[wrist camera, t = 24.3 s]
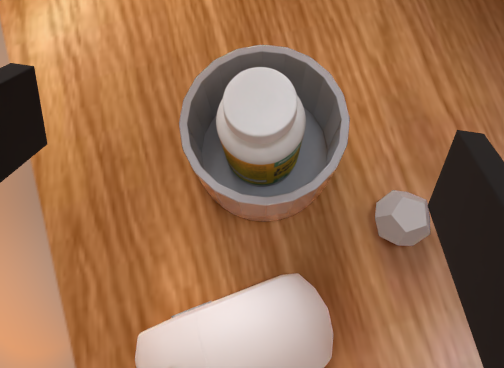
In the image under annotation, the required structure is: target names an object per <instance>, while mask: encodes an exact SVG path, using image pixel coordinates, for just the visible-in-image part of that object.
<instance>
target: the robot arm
mask: <svg viewBox="0 0 504 368" xmlns="http://www.w3.org/2000/svg"><path fill="white" fill-rule="evenodd" d="M46 145H47V139H46V133H45V127H44V121H43V116H42V110H41V104H40V98H39V92H38V86H37V81H36V75H35V69H34V66H28V65H21V64H14V63H10V64H8V65H6V66H4V67H2V68H0V182H2V181H3V180H4V179H5V178H7V177H8V176H9V175H10V174H11V173H13V172H14V171H15V170H16V169H18V168H19V167H20V166H21V165H22V164H23V163H25V162H26V161H27V160H29V159H30V158H31V157H32V156H33V155H35V154H36V153H37V152H38V151H39V150H41V149H42V148H43V147H44V146H46ZM428 208H429V211H430V214H431V217H432V220H433V223H434V226H435V228H436V231H437V234H438V237H439V240H440V243H441V246H442V249H443V252H444V254H445V257H446V260H447V263H448V266H449V269H450V272H451V275H452V278H453V280H454V283H455V286H456V289H457V292H458V295H459V298H460V301H461V304H462V306H463V309H464V312H465V315H466V318H467V321H468V324H469V327H470V329H471V332H472V335H473V338H474V341H475V344H476V347H477V350H478V353H479V355H480V358H481V361H482V364H483V367H484V368H504V161H503V160H502V159H501V157H500V156H499V154H498V153H497V152H496V150H495V149H494V148H493V146H492V145H491V143H490V142H489V141H488V139H487V138H486V136H485V135H484V134H481V133H474V132H467V131H461V130H457V132H456V134H455V137H454V140H453V142H452V145H451V147H450V150H449V152H448V155H447V158H446V160H445V163H444V165H443V168H442V170H441V173H440V176H439V178H438V181H437V183H436V186H435V188H434V191H433V194H432V196H431V199H430V201H429V204H428Z"/></svg>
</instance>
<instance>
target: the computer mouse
mask: <svg viewBox="0 0 504 368" xmlns="http://www.w3.org/2000/svg"><path fill="white" fill-rule="evenodd" d="M171 317H172V318H171V319H169V320H167V321H165V322H162V323H160V324H158V325H156V326H153V327H151V328H149V329H147V330H145V331H143V332H141V333H140V334H139V335H138V340H137V347H136V354H135V363H136V368H324V367H325V366H326V364H327V363H328V362H329V361H330V359H331V358H332V346H333V329H332V324H331V319H330V315H329V311H328V308H327V306H326V305H325V303H324V301H323V300H322V298H321V297H320V295H319V294H318V292H317V290H316V289H315V287H313V286H312V285H311V284H310V283H309V282H308V281H306V280H305V279H304V278H303V277H302V276H301V275H300V274H298V273H294V274H285V275H280V276H277V277H275V278H272V279H270V280H267V281H264V282H262V283H259V284H257V285H254V286H251V287H249V288H246V289H244V290H241V291H239V292H236V293H234V294H231V295H228V296H226V297H223V298H221V299H218V300H216V301H213V302H211V301H210V302H207V303H204V304H202V305H199V306H197V307H194V308H192V309H189V310H186V311H184V312H181V313H179V314H176V315H174V316H171Z"/></svg>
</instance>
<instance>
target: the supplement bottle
mask: <svg viewBox="0 0 504 368" xmlns="http://www.w3.org/2000/svg"><path fill="white" fill-rule="evenodd" d="M305 125H306V116H305V111H304V107H303V105H302V102H301V100H300V99H299V97H298V96H297V94H296V91H295V88H294V86H293V84H292V83H291V81H290V80H289V79H288V78H287V77H286V76H285V75H283V74H282V73H280V72H279V71H277V70H274V69H271V68H266V67H254V68H250V69H247V70H244V71H242V72H240V73H239V74H237V75H236V76H235V77H234V78H233V79H232V80H231V81H230V82H229V84H228V85H227V87H226V89H225V92H224V95H223V99H222V100H221V102H220V105H219V107H218V110H217V116H216V126H217V132H218V136H219V138H220V141H221V144H222V147H223V150H224V153H225V155H226V158H227V161H228V164H229V166H230V168H231V170H232V171H233V172H234V174H235V175H236V176H237V177H238V178H239V179H241V180H242V181H244V182H246V183H248V184H251V185H254V186H268V185H273V184H276V183H278V182H280V181H282V180H284V179H285V178H286V177H287V176H288V175H289V174H290V173H291V172H292V170H293V169H294V167H295V165H296V162H297V159H298V155H299V151H300V147H301V143H302V139H303V136H304V132H305Z"/></svg>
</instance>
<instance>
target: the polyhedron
mask: <svg viewBox="0 0 504 368" xmlns="http://www.w3.org/2000/svg"><path fill="white" fill-rule="evenodd" d="M375 220H376V225H377V229H378V234H379V236H380V237H382V238H384V239H386V240H388V241H390V242H392V243H394V244H396V245H401V246H413V245H415V244H416V243H418V242H419V241H421V240H422V239H424V238H425V237H427V236H428V235H430V216H429V210H428V204H427V200H426V199H423V198H421V197H418V196H416V195H414V194H411V193H409V192H403V191H396V190H392V191H391V192H390V193H389V194H387V195H386V196H385V197H383V198H382V199H381V200H379V201H378V202H377V203H376V212H375Z"/></svg>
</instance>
